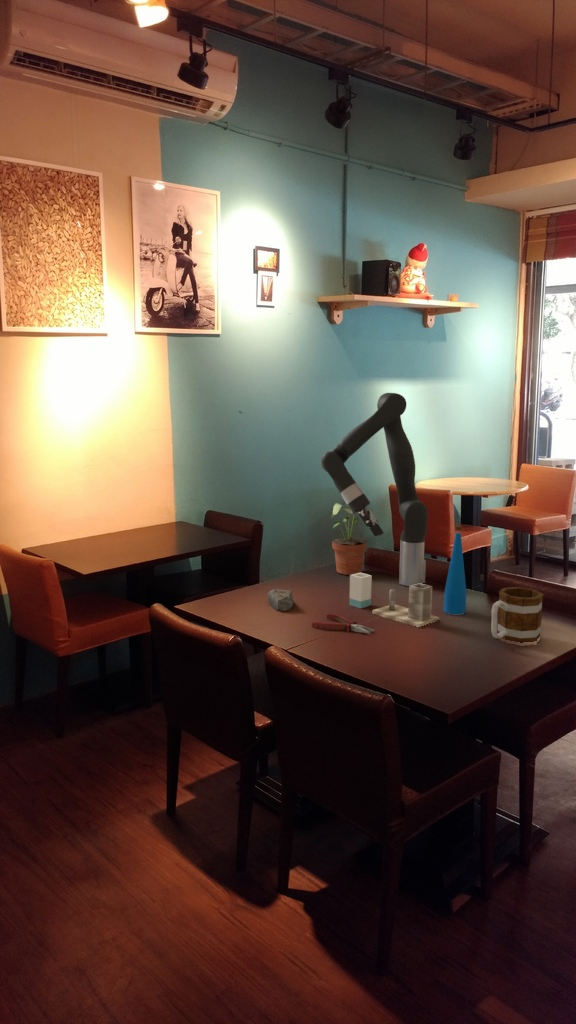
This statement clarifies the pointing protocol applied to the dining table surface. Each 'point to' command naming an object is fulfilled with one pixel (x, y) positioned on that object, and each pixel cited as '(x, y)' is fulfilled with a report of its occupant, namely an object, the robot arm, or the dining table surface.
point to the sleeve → (360, 590)
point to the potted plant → (348, 547)
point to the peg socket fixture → (411, 607)
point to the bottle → (456, 580)
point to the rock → (281, 599)
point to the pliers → (341, 625)
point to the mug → (517, 614)
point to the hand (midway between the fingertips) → (379, 534)
